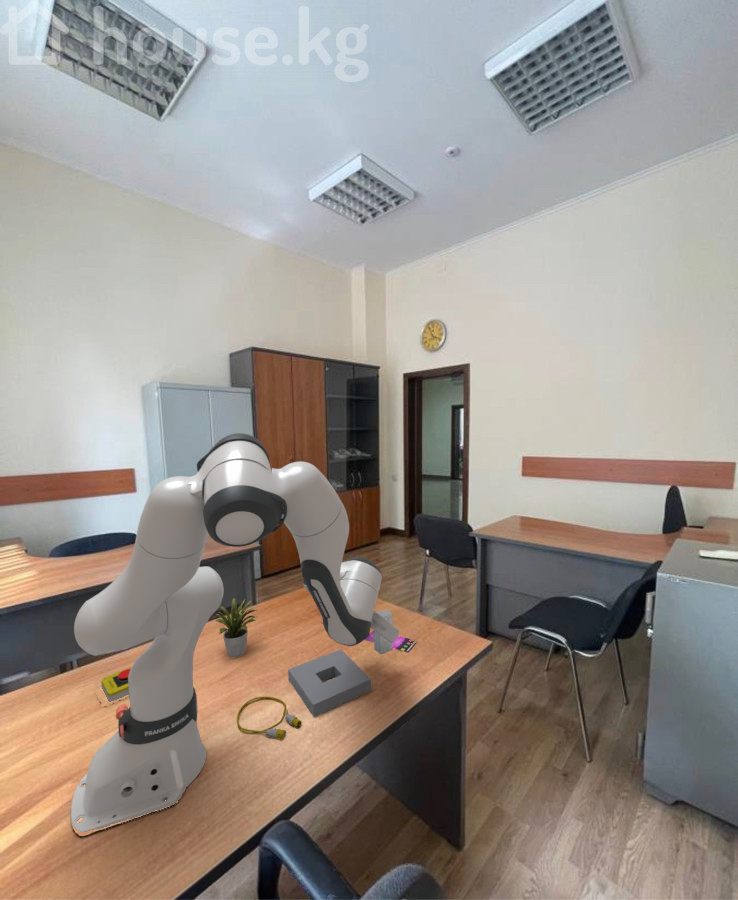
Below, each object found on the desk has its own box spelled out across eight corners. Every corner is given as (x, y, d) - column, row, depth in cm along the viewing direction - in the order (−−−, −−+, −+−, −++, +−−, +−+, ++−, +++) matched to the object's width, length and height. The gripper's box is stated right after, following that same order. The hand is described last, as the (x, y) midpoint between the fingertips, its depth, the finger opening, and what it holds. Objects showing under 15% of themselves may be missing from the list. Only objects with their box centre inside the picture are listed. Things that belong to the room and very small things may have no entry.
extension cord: (249, 758, 81) (249, 749, 80) (230, 712, 94) (230, 704, 94) (304, 731, 87) (304, 722, 87) (279, 691, 100) (279, 684, 100)
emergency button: (93, 677, 102) (155, 652, 112) (94, 693, 102) (156, 666, 113) (101, 693, 95) (167, 665, 106) (102, 710, 95) (168, 680, 106)
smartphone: (407, 655, 115) (407, 652, 115) (364, 640, 123) (364, 638, 123) (417, 643, 121) (417, 640, 121) (376, 630, 129) (375, 627, 129)
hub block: (313, 717, 91) (313, 704, 90) (288, 680, 104) (288, 669, 104) (371, 690, 99) (371, 679, 99) (341, 659, 113) (341, 649, 112)
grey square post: (380, 654, 102) (380, 617, 101) (374, 649, 104) (373, 613, 104) (393, 649, 104) (393, 613, 103) (386, 644, 107) (386, 608, 106)
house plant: (239, 674, 107) (236, 616, 106) (199, 665, 112) (196, 610, 111) (269, 645, 121) (266, 594, 120) (231, 639, 125) (229, 589, 124)
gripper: (384, 609, 90) (416, 636, 96) (341, 579, 108) (371, 604, 114) (368, 633, 88) (402, 660, 94) (327, 599, 105) (358, 623, 111)
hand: (385, 629), depth 104 cm, fingers closed on grey square post, 3 cm apart
